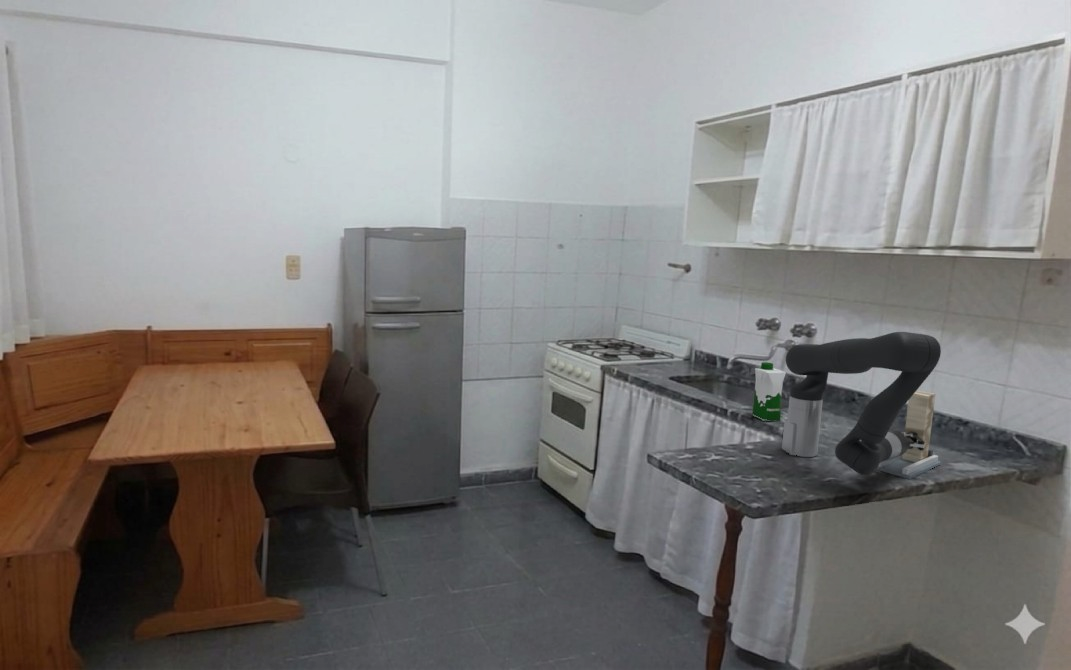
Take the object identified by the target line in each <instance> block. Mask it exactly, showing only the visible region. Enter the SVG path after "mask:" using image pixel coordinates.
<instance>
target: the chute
mask: <svg viewBox="0 0 1071 670" xmlns="http://www.w3.org/2000/svg"><path fill="white" fill-rule="evenodd" d="M938 465H940V466H941V465H942V461H941V460H939V455H936V454H934V450H933V449H930V448H929V449H928V457H927V458H925V459H923V460H921V461H918V462H916V463H915V462H911V461H907V460H903V459H902V455H901V456H898V457H896V458H893V459H891V460H887V461H883V462H881V463H879V465H878V467H877V469H876V470H877V471H879V472H884V473H887V474H890V475H894V476H897V477H901V478H904V479H908V480H911V479H913V478H915V476H916V477H918V476H920V475H922V474H924V473H927V472H928V470H929V471H931V470H933V469H935V468H937V467H939V466H938ZM936 466H937V467H936ZM934 467H935V468H934ZM932 468H933V469H932ZM930 469H931V470H930ZM876 470H875V471H876ZM923 472H924V473H923ZM921 473H922V474H921ZM919 474H920V475H919ZM917 475H918V476H917Z"/></svg>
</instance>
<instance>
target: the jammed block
mask: <svg viewBox="0 0 1071 670" xmlns="http://www.w3.org/2000/svg"><path fill="white" fill-rule="evenodd" d="M935 400H936V393H932V392H928V391H922V390H921V391H920V390H917V391H916V392H915V393H914V394H913V395H912V397H911V398H910V399H909V400H908V401H907V411H906V419H905V427H904V432H905V433H907V432H911V431H912V432H916V433H917V434H918V436H919V437H920V438H921V439H922V440H923V441H925V443H924V450H922V451H921V450H919V449H916V447H913V448H912V449H908V450H907V451H906V452H905V453H904V454H903V455H902V459H903V460H907V461H911V462H915V463H916V462H918V461H921V460H923V459H925V458H927V457H928V449H930V448H929V447H930V442H931V441H930V439H931V431H932V423H933V417H934V409H935Z"/></svg>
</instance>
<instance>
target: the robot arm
mask: <svg viewBox="0 0 1071 670" xmlns="http://www.w3.org/2000/svg"><path fill="white" fill-rule="evenodd" d="M941 352H942V349H941V343H939V341H938V339H937V338H935V337H934V336H932V335H929V334H924V333H917V332H916V333H915V332H910V331H909V332H908V331H895V332H891V333H887V334H883V335H880V336H875V337H872V338H870V337H869V338H865V337H864V338H863V337H862V338H861V337H860V338H859V337H858V338H848V339H847V338H846V339H841V340H835V341H830V342H825V343H821V344H819V343H818V344H815V343H814V344H811V343H809V344H808V343H802V344H800V343H799V344H798V343H797V344H796V345H793V346H791V347H790V349H788V351H787V352H786V355H785V364H786V366H787V368H788V370H789V371H790V372H791V373H792V374H794V375H797V376H805V378H804V379H802V381H800V382H798V383H796V384H795V383H794V385H792V386H790V389H789V397H788V408H787V409H788V411H787V418H785V419H784V424H783V434H782V443H781V449H782V450H783V451H784V452H785V453H787V454H788V453H789V455H790V456H796V455H797V456H796V457H805V458H812V457H813V458H814V457H817V456H818V452H819V451H818V449H819V440H820V430H821V420H822V419H821V418H822V412H823V411H822V410H823V400H824V394H825V392H826V390H827V383H828V377H829V374H830V373H831V374H840V375H841V374H843V375H850V374H851V375H852V374H853V375H856V374H863V373H866V372H868V371H870V370H871V369H873V368H876V369H884V370H885V369H886V370H892V371H895V372H901V373H900V374H899V375H898V376H897V378H895V380H894V381H893V382H892V383H891V384H890V385H889V386H887V387H886V388H884V389H883V390H882V391H880V392H878V394H877V395H875V396H874V397H873V398H872V399H871V400H869V402H868V403H867V405H865V407H864V409H863V411H861V415H860V416H859V418H858V420H857V422H856V424H855V425H854V427H853V428H852V429H851V431H849V433H848V434H847V435H846V436H845V437H843V438H842V439H841V440H840V441H839V442H838V443H837V445H836V446H835V450H834V453H835V457H836V458H837V459H838V460H839V461H840V462H842V463H843V464H845V465H846V466H847V467H848V468H850V469H851V470H853V471H855V473H856V474H859V475H862V476H870V475H872V474H873V473H874V472H875V471H876V469H877V467H878V465H879V463H881V462H883V461H887V460H891V459H893V458H896V457H898V456H901V455H903V454H904V453H905V452H906V451H907V450H908V449H912V448H913V447H916V449H919V450H921V451H922V450H924V443H925V441H923V440H922V439H921V438H920V437H919V436H918V434H917V433H916V432H912V431H911V432H907V433H905V431H903V432H901V431H900V430H897V429H892V428H891V427H892V425H893V424H894V422H895V420H896V419H897V417H898V415H899V414H900V412H901V411H902V409H903V408H904V406H905V405H906V404H908V401H909V399H910V398H911V397H912V395H913V394H914V393H915V392H916V391H918V390H919V388H920V387H921V385H923V383H924V382H925V381H926V379H927V378H928V377H929V376H930V375H931V374H932V372H933V371H934V370H935V368H936V367H937V365H938V364H939V361H940V358H941V354H942V353H941Z"/></svg>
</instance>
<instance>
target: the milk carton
mask: <svg viewBox="0 0 1071 670" xmlns="http://www.w3.org/2000/svg"><path fill="white" fill-rule="evenodd" d="M754 372H755V373H754V374H755V384H754V385H755V386H754V397H753V406H752V407H753V408H752V414H754V415H756V416H758V417H760V418H762V419H767V420H780V421H781V414H782V413H781V409H782V408H781V404H782V395H783V394H782V393H783V384H784V380H785V376H786V373H787V372H786V371H784V370H781V369H778V368H774V363H773V362H767V361H766V362H765V361H764V362H761V365H760V367H758V368H754Z"/></svg>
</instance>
